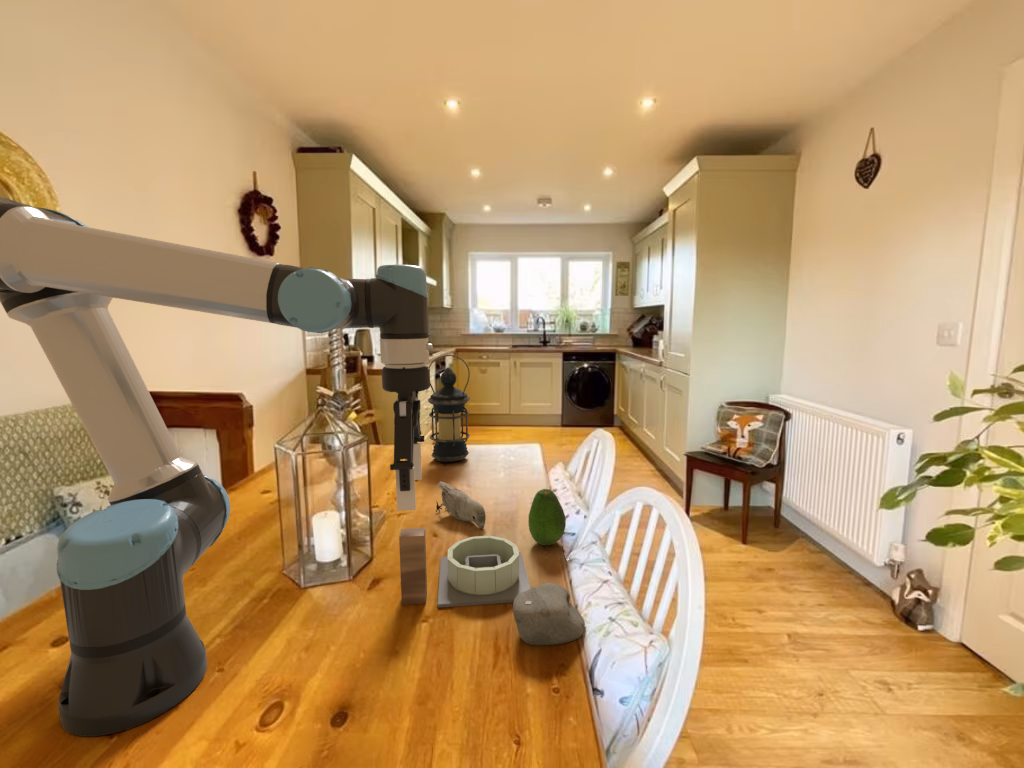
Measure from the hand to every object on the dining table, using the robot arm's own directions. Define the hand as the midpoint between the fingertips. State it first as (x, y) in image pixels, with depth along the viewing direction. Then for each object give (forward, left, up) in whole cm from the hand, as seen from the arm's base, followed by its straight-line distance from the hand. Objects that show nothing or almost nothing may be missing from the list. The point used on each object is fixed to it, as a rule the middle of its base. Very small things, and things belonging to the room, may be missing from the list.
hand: (410, 493), depth 80 cm
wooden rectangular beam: (0, 0, -19) cm, 19 cm away
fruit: (+17, -26, -19) cm, 36 cm away
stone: (-11, -21, -19) cm, 31 cm away
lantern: (+80, -5, -19) cm, 82 cm away
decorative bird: (+32, -8, -19) cm, 38 cm away
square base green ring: (+5, -12, -19) cm, 23 cm away
